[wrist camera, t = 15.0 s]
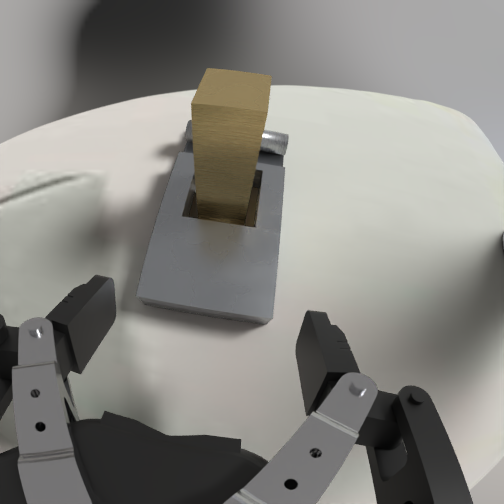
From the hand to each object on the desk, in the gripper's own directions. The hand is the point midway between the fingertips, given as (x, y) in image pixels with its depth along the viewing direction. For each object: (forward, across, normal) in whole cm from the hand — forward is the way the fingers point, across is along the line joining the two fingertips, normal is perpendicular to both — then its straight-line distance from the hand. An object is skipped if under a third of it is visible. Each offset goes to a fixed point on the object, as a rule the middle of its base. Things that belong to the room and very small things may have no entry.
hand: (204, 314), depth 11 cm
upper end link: (+12, +1, +1) cm, 12 cm away
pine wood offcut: (+14, +1, -1) cm, 14 cm away
